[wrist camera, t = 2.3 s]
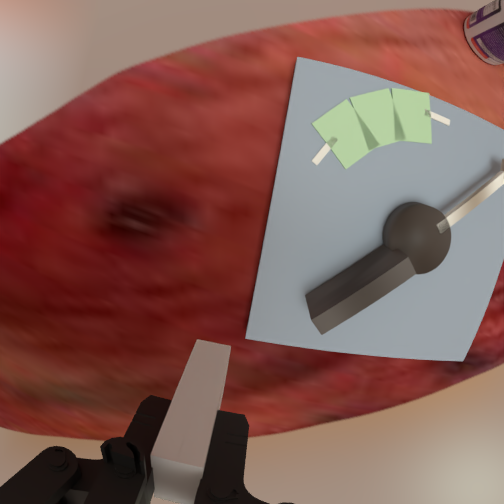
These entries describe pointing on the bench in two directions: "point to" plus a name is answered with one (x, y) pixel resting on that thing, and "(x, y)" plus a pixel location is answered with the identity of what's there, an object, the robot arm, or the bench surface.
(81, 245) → the bench surface
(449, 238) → the dark long piece
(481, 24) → the pill bottle
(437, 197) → the tuner board
